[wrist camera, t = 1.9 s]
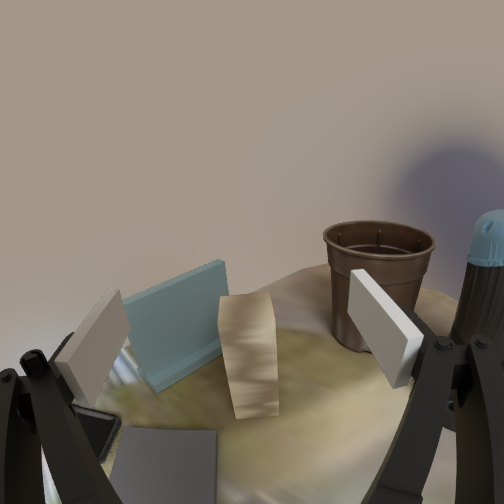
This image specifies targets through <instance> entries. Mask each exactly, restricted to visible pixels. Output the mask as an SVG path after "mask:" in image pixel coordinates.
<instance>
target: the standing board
mask: <svg viewBox="0 0 504 504" xmlns="http://www.w3.org/2000/svg"><path fill="white" fill-rule="evenodd" d="M220 296H229V293H228V285H227V277H226V269H225V262H224V261H222V260H218V259H217V260H215V261H212V262H210V263H208V264H205V265H203V266H201V267H198V268H196V269H193V270H191V271H189V272H186V273H184V274H182V275H179V276H177V277H175V278H173V279H170V280H168V281H165V282H163V283H161V284H159V285H156V286H154V287H151V288H149V289H147V290H145V291H142V292H140V293H137V294H135V295H133V296H130V297H128V298H126V299H123V300H122V301H123V305H124V308H125V311H126V315H127V318H128V321H129V324H130V327H131V330H130V332H129V334H128V338H129V341H130V344H131V346H132V349H133V352H134V354H135V357H136V359H137V362H138V364H139V367H138V368H137V370H138V372H139V374H140V376H141V377H142V378H143V379H144V380H145V381H146V382H147V384H148V385H149V386H150V387H151V388H152V389H153V390H154V391H155V392H156V393H159V392H161V391H163V390H164V389H166V388H168V387H169V386H171V385H173V384H174V383H176V382H178V381H179V380H181V379H183V378H184V377H186V376H188V375H189V374H191V373H192V372H194V371H196V370H197V369H199V368H200V367H202V366H204V365H205V364H207V363H208V362H210V361H212V360H213V359H215V358H216V357H218V356H219V355H221V354H222V353H223V352H222V347H221V341H220V336H219V330H218V313H219V303H220Z"/></svg>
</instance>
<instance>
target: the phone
mask: <svg viewBox="0 0 504 504" xmlns="http://www.w3.org/2000/svg"><path fill="white" fill-rule="evenodd" d="M72 405H73V406H74V408H75V410H76V413H77V415H78V418H79V420H80V423H81V425H82V427H83V430H84V432H85V434H86V436H87V439H88V441H89V443H90V445H91V447H92V449H93V451H94V453H95V455H96V457H97V459H98V461H99V463H100V464H102V463H103V462H104V461H105V460H106V458H107V456H108V453H109V451H110V449H111V447H112V444H113V442H114V440H115V438H116V436H117V433H118V431H119V429H120V427H121V421H120V420H119V418H118V417H117V416H116V415H114V414H109V413H105V412H101V411H96V410H93V409H89V408H85V407H81V406H78V405H74V404H72ZM112 440H113V441H112ZM111 441H112V443H111ZM110 444H111V445H110ZM106 454H107V455H106Z"/></svg>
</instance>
